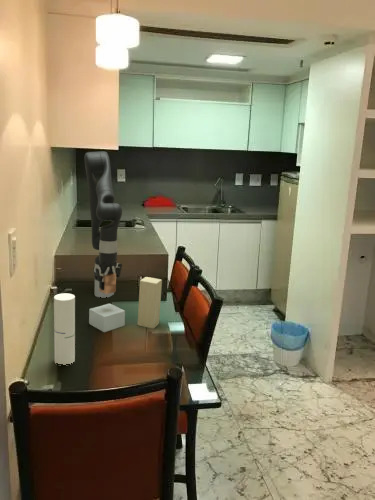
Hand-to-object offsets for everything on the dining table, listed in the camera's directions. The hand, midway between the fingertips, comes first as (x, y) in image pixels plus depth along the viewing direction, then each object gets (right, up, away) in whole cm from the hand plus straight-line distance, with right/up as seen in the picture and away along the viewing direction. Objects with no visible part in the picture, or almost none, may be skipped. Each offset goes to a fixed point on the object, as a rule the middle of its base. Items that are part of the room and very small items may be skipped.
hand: (107, 288), depth 192 cm
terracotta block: (0, -1, 0) cm, 1 cm away
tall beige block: (+17, -17, +8) cm, 25 cm away
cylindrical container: (-11, -24, -28) cm, 39 cm away
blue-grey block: (-1, -16, +4) cm, 17 cm away
